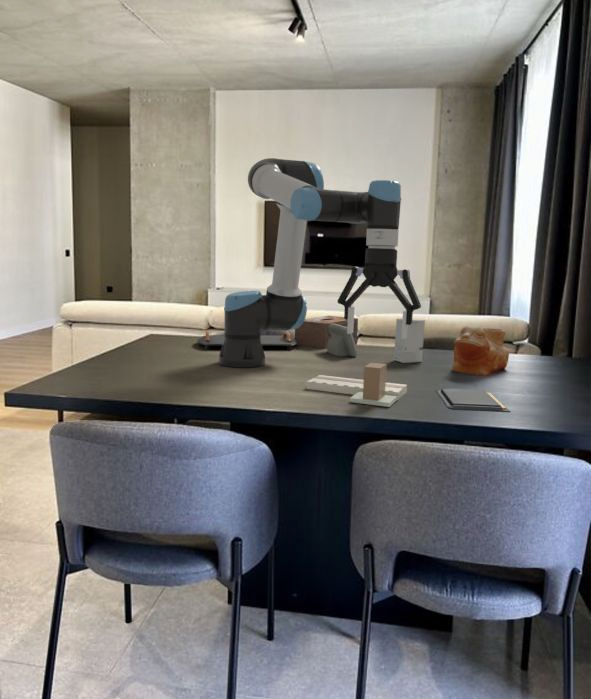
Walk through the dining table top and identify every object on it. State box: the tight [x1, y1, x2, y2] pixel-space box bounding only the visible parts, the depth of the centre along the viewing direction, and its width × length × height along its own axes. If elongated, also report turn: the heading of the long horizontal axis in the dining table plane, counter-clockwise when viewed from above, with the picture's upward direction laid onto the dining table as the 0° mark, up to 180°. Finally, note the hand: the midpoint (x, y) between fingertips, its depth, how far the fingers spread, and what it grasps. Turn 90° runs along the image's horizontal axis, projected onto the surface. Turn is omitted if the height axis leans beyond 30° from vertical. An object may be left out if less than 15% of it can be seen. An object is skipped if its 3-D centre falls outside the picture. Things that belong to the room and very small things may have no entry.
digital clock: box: [326, 323, 359, 358], centre depth 215 cm, size 16×9×11 cm, turn 9°
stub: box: [349, 362, 398, 408], centre depth 146 cm, size 10×8×9 cm
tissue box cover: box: [294, 315, 359, 350], centre depth 240 cm, size 26×14×10 cm, turn 146°
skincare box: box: [393, 317, 426, 364], centre depth 203 cm, size 8×6×15 cm
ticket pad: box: [305, 374, 408, 401], centre depth 158 cm, size 25×10×2 cm, turn 67°
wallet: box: [435, 388, 511, 413], centre depth 150 cm, size 20×2×15 cm
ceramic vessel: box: [451, 325, 510, 377], centre depth 191 cm, size 14×26×15 cm, turn 138°
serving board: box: [196, 330, 297, 351], centre depth 228 cm, size 39×23×6 cm, turn 99°
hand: (376, 335), depth 144 cm, fingers open, 13 cm apart
